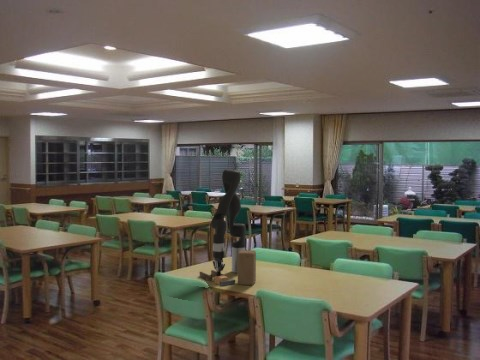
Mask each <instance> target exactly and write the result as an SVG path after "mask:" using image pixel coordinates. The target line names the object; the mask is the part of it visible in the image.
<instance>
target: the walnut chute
mask: <svg viewBox="0 0 480 360" xmlns="http://www.w3.org/2000/svg"><path fill="white" fill-rule="evenodd" d="M210 272H211V273H210V274H207V273H206V272H204V271H199V277H201V278H203V279H205V280H206V281H209V282H213V277H215V276H217V271H216V270H215V269H214V270H213V269H211V271H210ZM222 275H224V276H225V274H223V273H221V276H222Z"/></svg>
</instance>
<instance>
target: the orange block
mask: <svg viewBox="0 0 480 360" xmlns="http://www.w3.org/2000/svg"><path fill="white" fill-rule="evenodd" d="M227 280H229V279H228V276H226V275H225V274H224V275H222V276H214V283H216V284H218V285H220V281H227Z"/></svg>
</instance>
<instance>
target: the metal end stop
mask: <svg viewBox="0 0 480 360" xmlns="http://www.w3.org/2000/svg"><path fill="white" fill-rule="evenodd" d="M235 284H236V279H228V280H227V281H220V284H219V286H220V287H224V286H232V285H235Z"/></svg>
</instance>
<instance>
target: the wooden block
mask: <svg viewBox="0 0 480 360" xmlns="http://www.w3.org/2000/svg"><path fill="white" fill-rule="evenodd" d="M256 255H257V252H256V250H246V249H245V250H241V251H240V252H239V253H238V273H237V284H238V285H241V286H254V284H255V283H256V281H257V276H256V275H257V271H256V270H257V268H256V266H257V259H256V258H257V256H256Z"/></svg>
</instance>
